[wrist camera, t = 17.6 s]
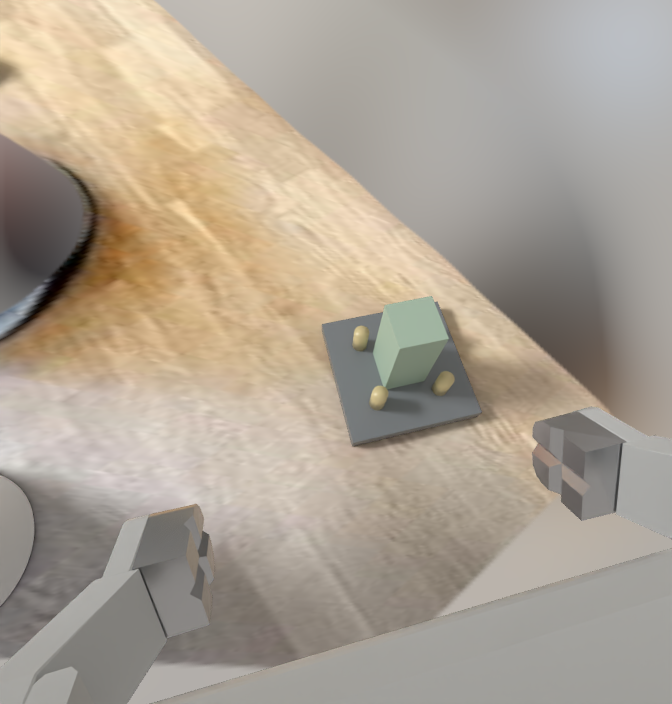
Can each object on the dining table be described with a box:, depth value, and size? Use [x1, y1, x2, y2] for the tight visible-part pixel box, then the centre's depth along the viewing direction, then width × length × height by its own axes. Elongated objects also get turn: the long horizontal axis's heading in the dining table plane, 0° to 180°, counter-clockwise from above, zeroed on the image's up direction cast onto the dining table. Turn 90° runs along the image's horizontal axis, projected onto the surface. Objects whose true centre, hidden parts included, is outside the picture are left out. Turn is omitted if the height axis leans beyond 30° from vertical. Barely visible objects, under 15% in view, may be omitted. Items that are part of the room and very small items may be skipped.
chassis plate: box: [322, 302, 482, 446], centre depth 47 cm, size 14×14×4 cm
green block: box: [373, 296, 449, 389], centre depth 43 cm, size 4×4×10 cm
